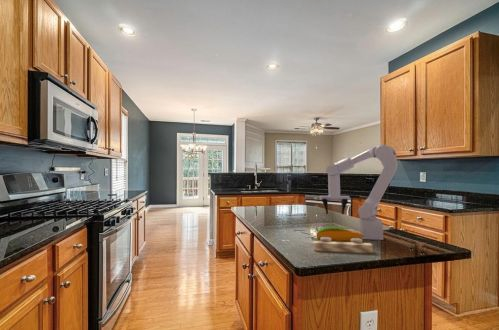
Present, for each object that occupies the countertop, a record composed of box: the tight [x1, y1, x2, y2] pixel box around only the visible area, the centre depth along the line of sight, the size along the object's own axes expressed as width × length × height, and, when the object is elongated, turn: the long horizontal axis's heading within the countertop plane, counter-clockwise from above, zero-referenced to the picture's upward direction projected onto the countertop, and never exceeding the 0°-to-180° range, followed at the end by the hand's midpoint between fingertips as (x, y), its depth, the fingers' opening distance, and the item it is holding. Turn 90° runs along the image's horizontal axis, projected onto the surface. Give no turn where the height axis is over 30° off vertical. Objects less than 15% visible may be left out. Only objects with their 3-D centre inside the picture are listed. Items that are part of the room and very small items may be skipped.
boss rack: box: [313, 237, 374, 254], centre depth 102 cm, size 22×7×4 cm, turn 78°
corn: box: [315, 226, 363, 242], centre depth 110 cm, size 7×8×20 cm
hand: (334, 213), depth 129 cm, fingers open, 7 cm apart
